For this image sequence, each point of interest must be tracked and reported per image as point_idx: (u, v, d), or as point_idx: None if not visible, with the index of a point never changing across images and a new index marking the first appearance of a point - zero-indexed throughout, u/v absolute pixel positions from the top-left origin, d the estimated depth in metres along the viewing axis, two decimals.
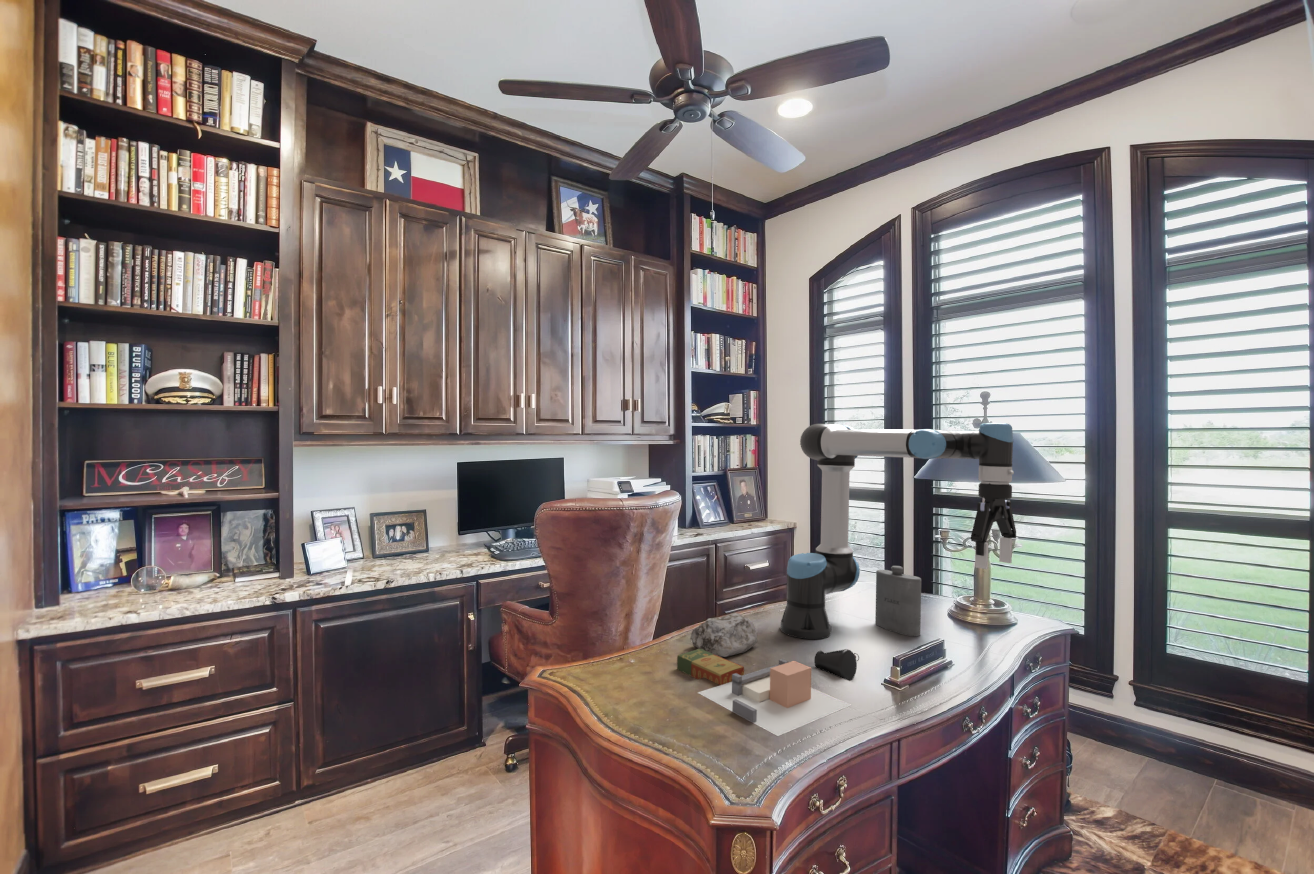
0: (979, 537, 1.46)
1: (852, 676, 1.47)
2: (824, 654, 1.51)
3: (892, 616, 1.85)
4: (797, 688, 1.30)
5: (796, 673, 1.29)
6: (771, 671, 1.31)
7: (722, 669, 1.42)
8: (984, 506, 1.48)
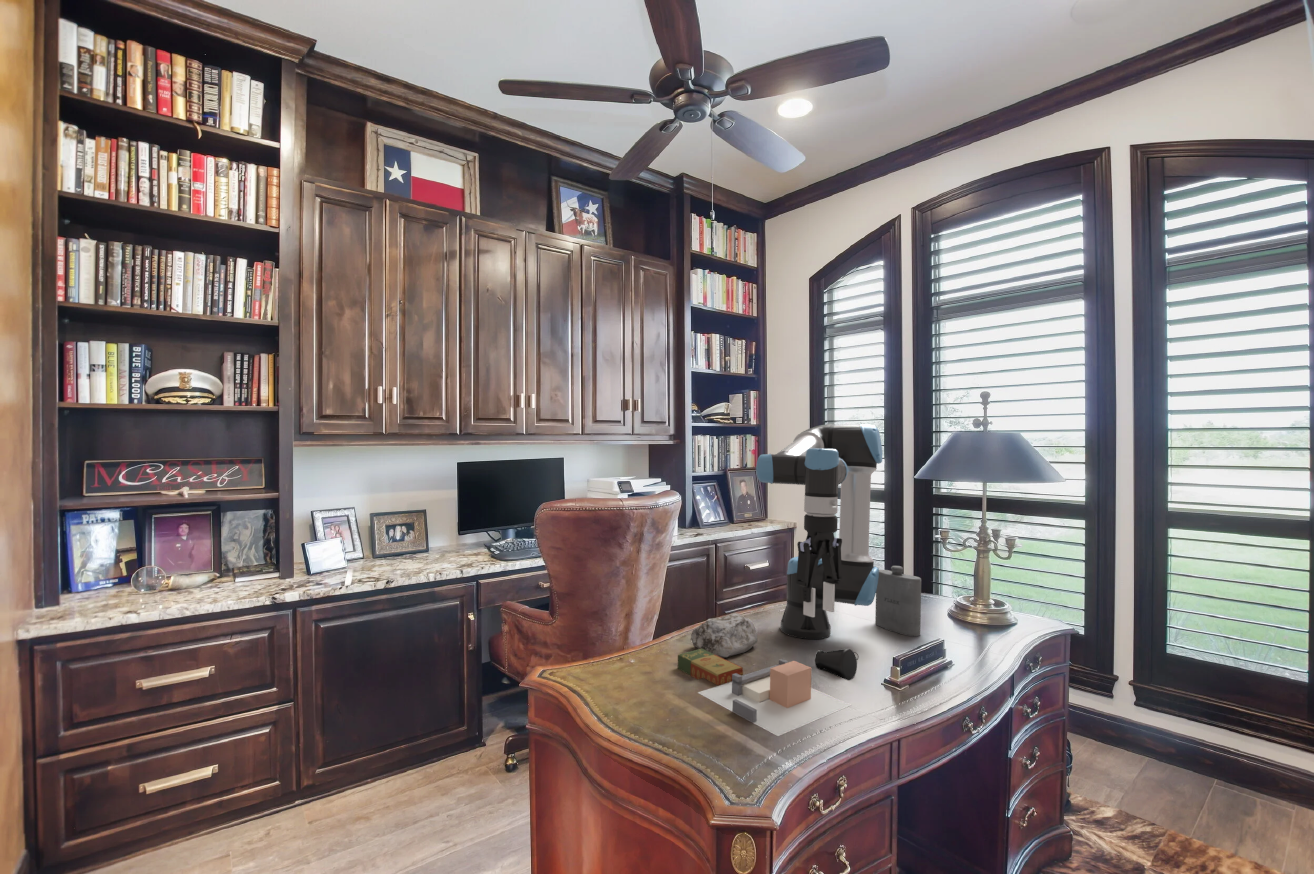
0: (803, 583, 1.33)
1: (853, 675, 1.48)
2: (825, 653, 1.52)
3: (892, 616, 1.85)
4: (797, 688, 1.30)
5: (796, 673, 1.29)
6: (771, 671, 1.31)
7: (720, 669, 1.42)
8: (803, 547, 1.34)
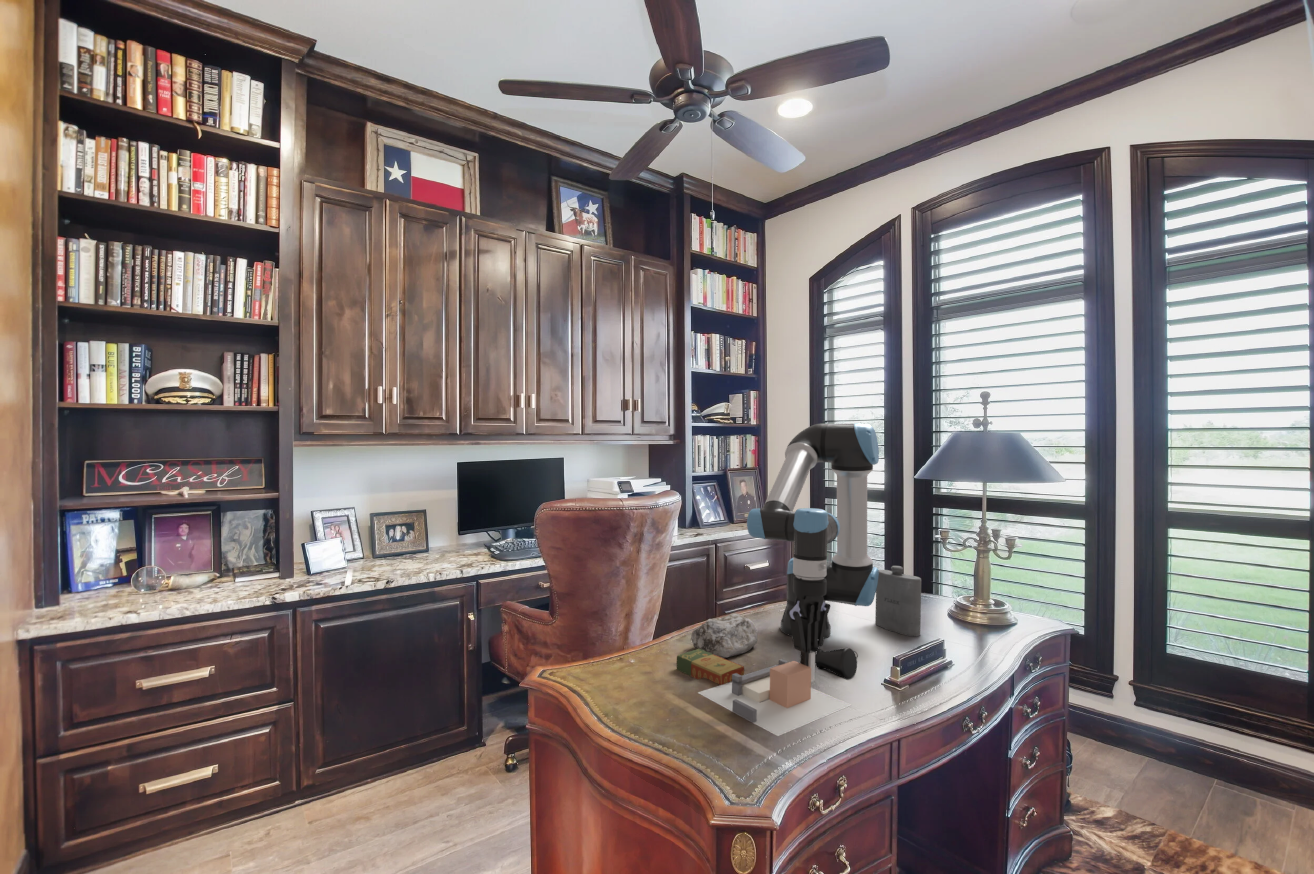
0: (801, 649, 1.33)
1: (853, 674, 1.48)
2: (825, 652, 1.52)
3: (892, 616, 1.85)
4: (797, 688, 1.30)
5: (796, 673, 1.29)
6: (771, 671, 1.31)
7: (722, 668, 1.42)
8: (793, 616, 1.32)
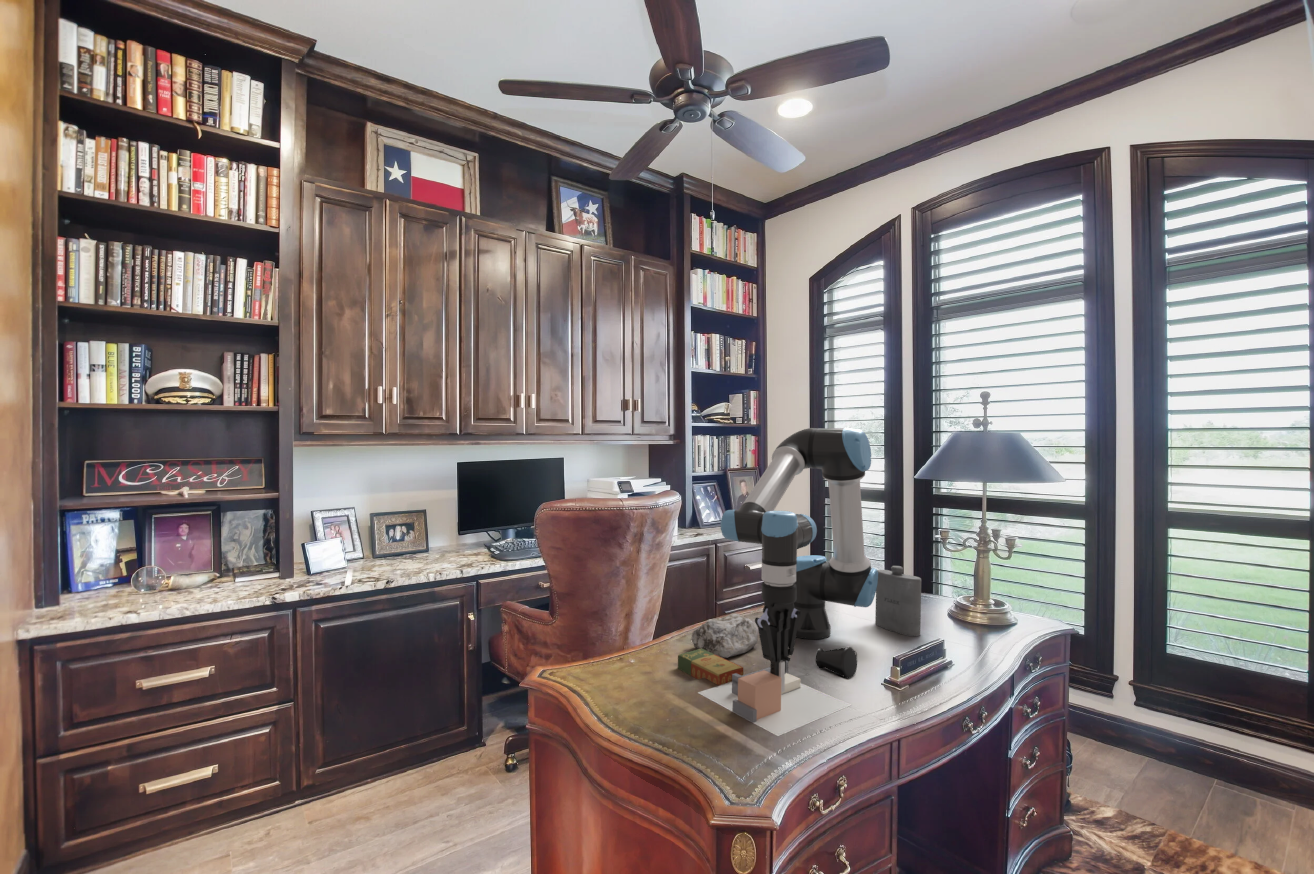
0: (770, 659, 1.27)
1: (853, 673, 1.49)
2: (825, 652, 1.53)
3: (892, 616, 1.85)
4: (766, 699, 1.24)
5: (764, 683, 1.23)
6: (739, 681, 1.25)
7: (721, 669, 1.42)
8: (761, 625, 1.25)
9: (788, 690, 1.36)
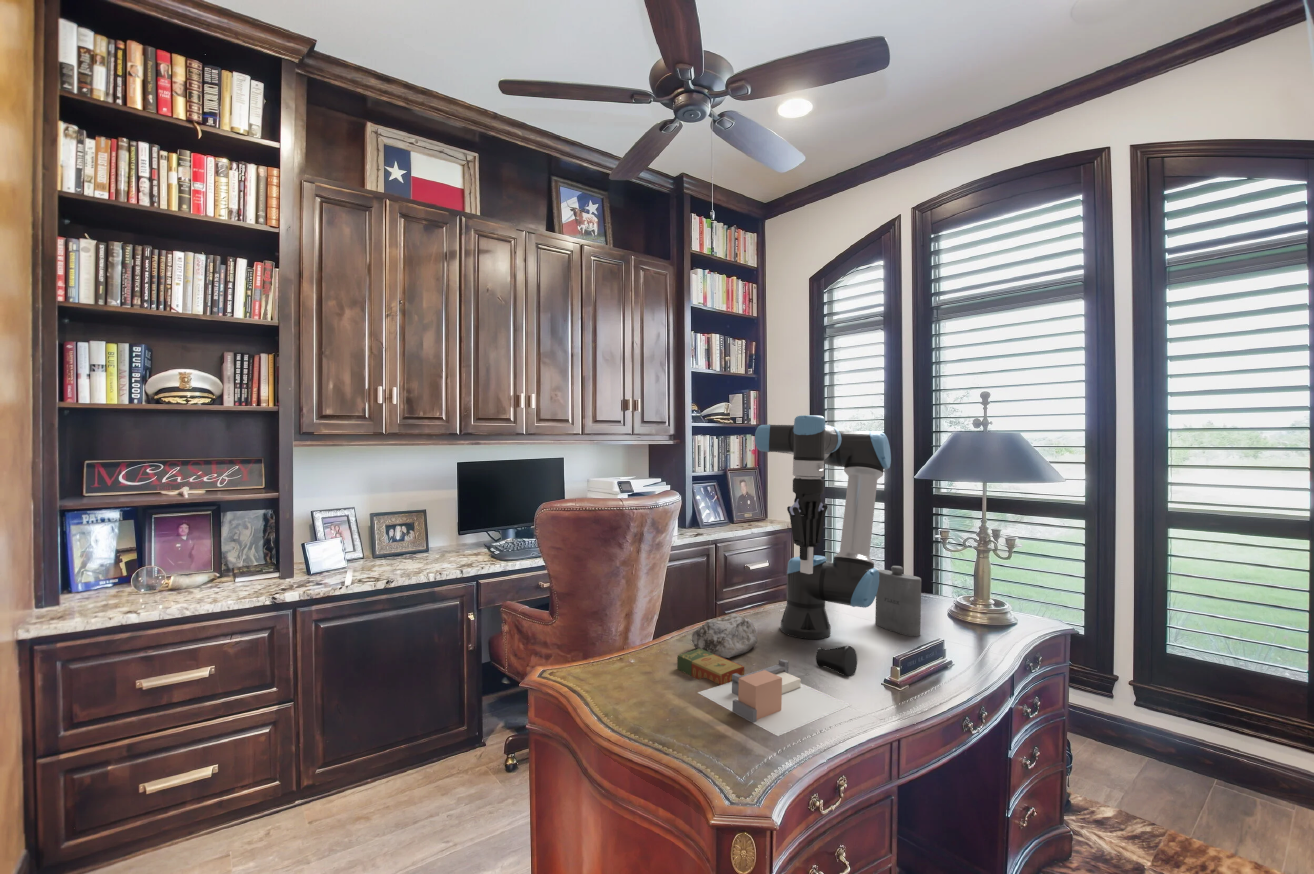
0: (800, 543, 1.44)
1: (853, 672, 1.50)
2: (825, 651, 1.54)
3: (892, 616, 1.85)
4: (766, 699, 1.24)
5: (765, 683, 1.24)
6: (739, 681, 1.25)
7: (722, 668, 1.42)
8: (793, 512, 1.43)
9: (788, 690, 1.36)
